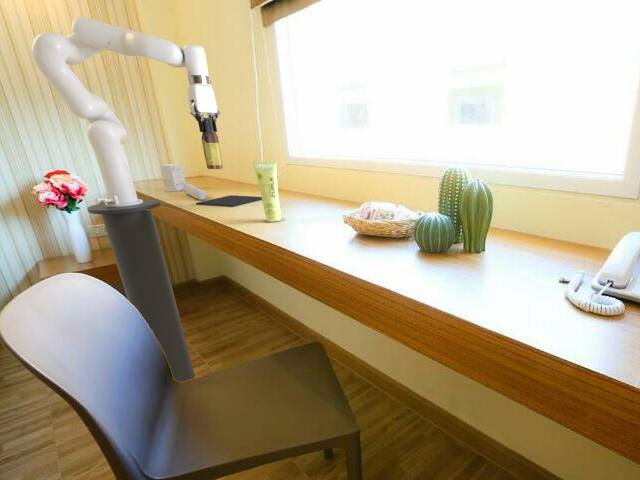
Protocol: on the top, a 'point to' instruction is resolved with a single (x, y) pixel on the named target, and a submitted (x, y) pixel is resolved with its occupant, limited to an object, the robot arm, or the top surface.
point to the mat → (230, 201)
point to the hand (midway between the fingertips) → (208, 131)
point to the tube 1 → (195, 192)
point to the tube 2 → (268, 189)
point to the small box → (173, 177)
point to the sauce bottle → (211, 146)
